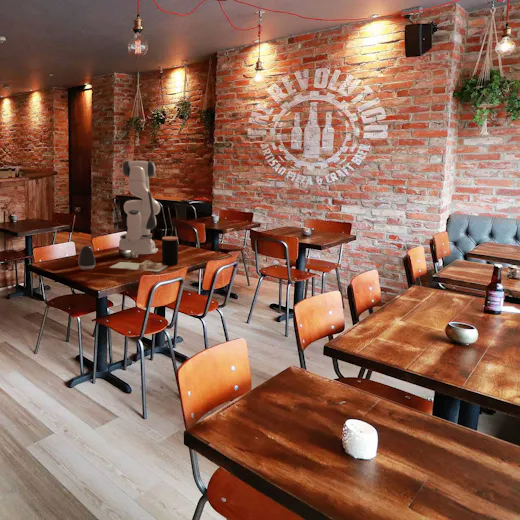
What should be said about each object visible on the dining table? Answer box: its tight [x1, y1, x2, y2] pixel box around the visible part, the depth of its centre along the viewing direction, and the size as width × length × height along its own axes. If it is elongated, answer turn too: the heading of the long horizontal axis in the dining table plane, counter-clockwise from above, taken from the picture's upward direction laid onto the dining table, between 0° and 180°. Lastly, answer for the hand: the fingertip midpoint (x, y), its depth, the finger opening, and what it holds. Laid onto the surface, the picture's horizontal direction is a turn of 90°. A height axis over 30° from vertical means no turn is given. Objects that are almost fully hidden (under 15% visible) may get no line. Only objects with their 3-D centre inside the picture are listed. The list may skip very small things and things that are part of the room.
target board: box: [109, 261, 169, 274], centre depth 299 cm, size 16×33×1 cm, turn 81°
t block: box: [139, 260, 163, 269], centre depth 297 cm, size 12×12×3 cm
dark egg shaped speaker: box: [77, 245, 97, 271], centre depth 289 cm, size 10×10×15 cm
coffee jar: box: [161, 235, 179, 266], centre depth 312 cm, size 11×11×18 cm
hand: (135, 257), depth 299 cm, fingers closed
